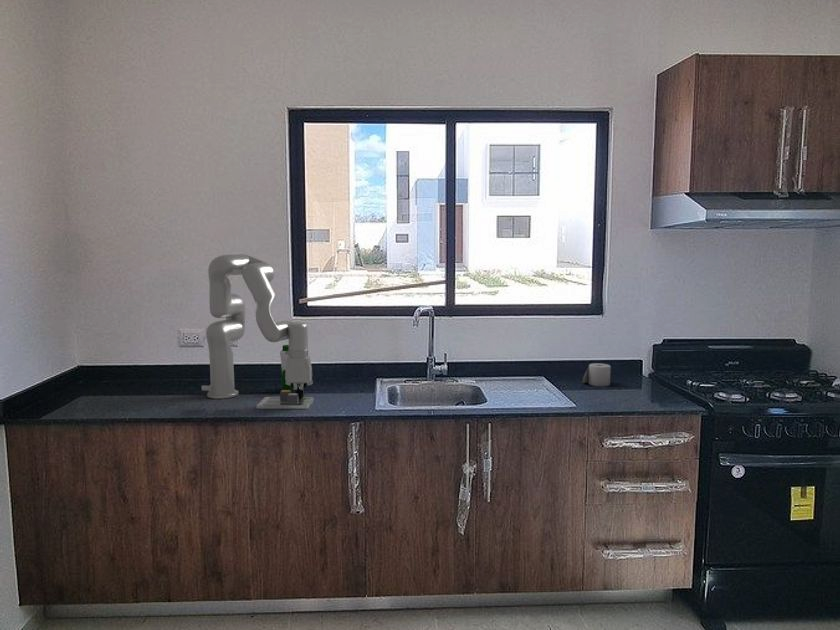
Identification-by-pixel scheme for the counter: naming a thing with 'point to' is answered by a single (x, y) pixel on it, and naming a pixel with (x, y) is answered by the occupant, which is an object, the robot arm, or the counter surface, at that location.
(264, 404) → the panel
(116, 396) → the counter surface
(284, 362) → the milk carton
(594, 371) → the toilet tissue
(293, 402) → the breaker front
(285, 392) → the block
